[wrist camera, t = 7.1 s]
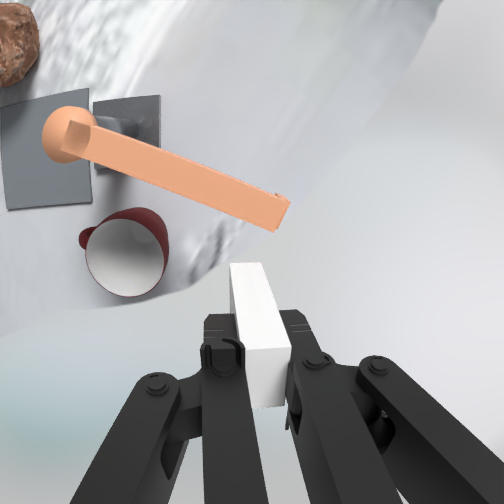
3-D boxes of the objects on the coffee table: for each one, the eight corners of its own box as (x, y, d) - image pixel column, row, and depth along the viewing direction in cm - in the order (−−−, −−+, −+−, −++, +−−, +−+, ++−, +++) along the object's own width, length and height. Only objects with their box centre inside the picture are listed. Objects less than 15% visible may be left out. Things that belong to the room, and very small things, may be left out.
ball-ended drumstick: (268, 232, 26) (275, 247, 22) (56, 150, 21) (35, 154, 18) (289, 186, 24) (301, 195, 21) (72, 103, 20) (52, 100, 17)
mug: (100, 260, 38) (72, 297, 29) (92, 198, 35) (57, 221, 26) (179, 258, 39) (169, 297, 30) (175, 194, 36) (161, 215, 27)
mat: (8, 208, 34) (6, 209, 34) (2, 108, 29) (0, 108, 29) (92, 201, 35) (91, 201, 35) (89, 88, 30) (87, 87, 30)
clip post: (97, 168, 34) (37, 191, 21) (96, 102, 31) (34, 92, 18) (161, 163, 35) (128, 182, 21) (160, 95, 32) (127, 74, 19)
